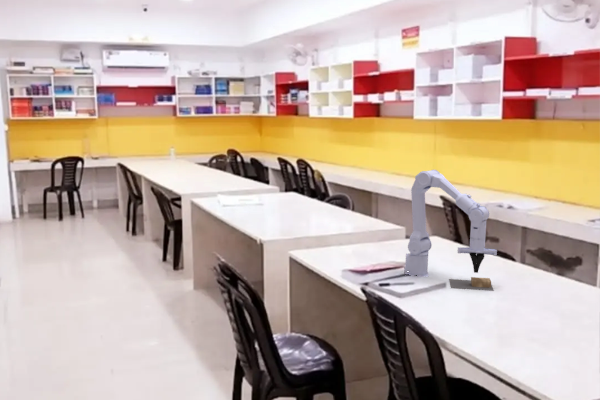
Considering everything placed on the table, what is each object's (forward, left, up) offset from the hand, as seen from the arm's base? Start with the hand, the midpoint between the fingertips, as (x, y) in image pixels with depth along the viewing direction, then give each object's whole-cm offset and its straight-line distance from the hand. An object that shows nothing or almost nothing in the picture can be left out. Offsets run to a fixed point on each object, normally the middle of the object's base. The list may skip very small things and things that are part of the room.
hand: (475, 272), depth 237 cm
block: (-1, 0, -4) cm, 4 cm away
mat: (-2, 0, -6) cm, 6 cm away
